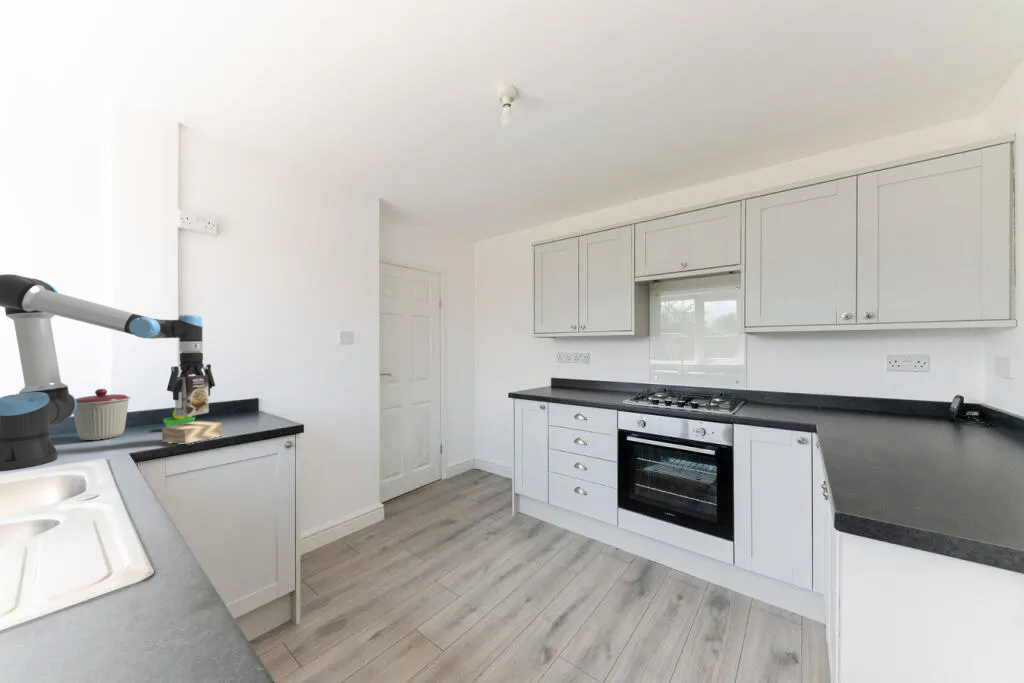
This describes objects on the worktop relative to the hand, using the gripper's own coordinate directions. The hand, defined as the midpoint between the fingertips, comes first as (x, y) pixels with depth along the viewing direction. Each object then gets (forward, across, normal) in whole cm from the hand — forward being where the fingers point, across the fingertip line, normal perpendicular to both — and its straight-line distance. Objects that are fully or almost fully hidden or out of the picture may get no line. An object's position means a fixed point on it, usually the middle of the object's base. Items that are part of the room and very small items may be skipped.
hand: (192, 405), depth 164 cm
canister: (+14, -10, +42) cm, 45 cm away
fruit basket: (+14, +12, +29) cm, 34 cm away
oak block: (+14, 0, 0) cm, 14 cm away
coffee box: (+4, 0, 0) cm, 4 cm away
